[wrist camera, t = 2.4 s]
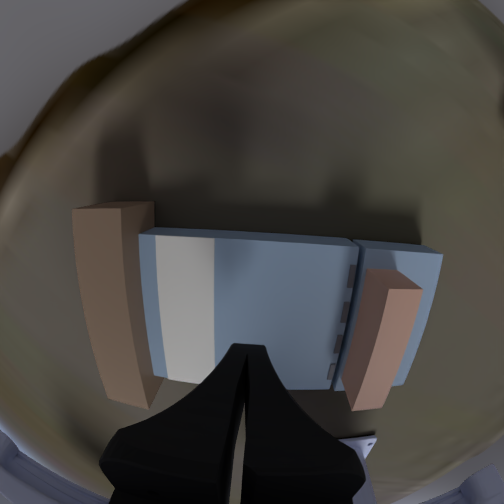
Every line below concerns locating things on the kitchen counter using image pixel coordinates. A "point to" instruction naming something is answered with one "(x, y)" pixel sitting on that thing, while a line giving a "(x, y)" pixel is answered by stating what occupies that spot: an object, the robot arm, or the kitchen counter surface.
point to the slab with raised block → (385, 319)
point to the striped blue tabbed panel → (206, 299)
